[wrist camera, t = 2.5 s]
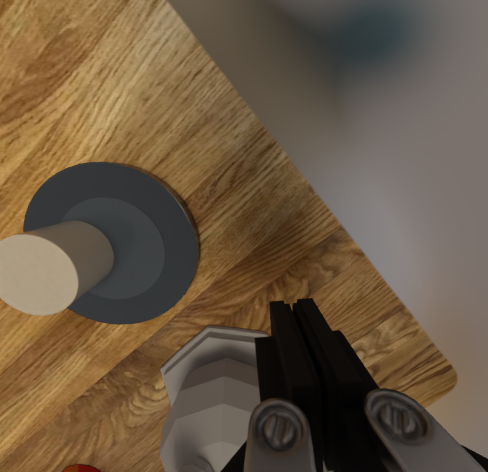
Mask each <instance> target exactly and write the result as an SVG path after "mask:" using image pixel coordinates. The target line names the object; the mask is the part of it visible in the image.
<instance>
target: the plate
mask: <svg viewBox="0 0 488 472" xmlns="http://www.w3.org/2000/svg"><path fill="white" fill-rule="evenodd" d="M70 220H75V221H82V222H85V223H88V224H90V225H92V226H94V227H96V228H97V229H99V230H100V231H101V232H102V233H103V234H104V235H105V236H106V238H107V239H108V240H109V242H110V244H111V246H112V249H113V254H114V262H113V266H112V269H111V271H110V273H109V274H108V275H107V277H106V278H104V279H103V280H102V281H101V282H99V283H98V284H97V285H95V286H94V287H93V288H92V289H90V290H89V291H88V292H86V293H85V294H84V295H83V296H81V297H80V298H79V299H77V300H76V301H75V302H74V303H72V304H71V305H70V306H68V307H67V308H68V309H70V310H71V311H73V312H75V313H77V314H79V315H81V316H83V317H86V318H88V319H91V320H95V321H98V322H103V323H108V324H134V323H140V322H144V321H147V320H150V319H153V318H155V317H158V316H159V315H161V314H163V313H165V312H166V311H168V310H169V309H170V308H172V307H173V306H174V305H175V304H176V303H177V302H178V301H179V300H180V299H181V298H182V297H183V295H184V294H185V293H186V291H187V289H188V288H189V286H190V284H191V282H192V280H193V277H194V275H195V272H196V269H197V266H198V261H199V251H200V247H199V237H198V232H197V228H196V225H195V222H194V219H193V217H192V215H191V213H190V211H189V209H188V208H187V206H186V205H185V203H184V202H183V200H182V199H181V198H180V197H179V196H178V194H177V193H176V192H175V191H174V190H173V189H172V188H171V187H170V186H168V185H167V184H166V183H165V182H163V181H162V180H160V179H159V178H158V177H156V176H154V175H152V174H151V173H149V172H147V171H144V170H142V169H139V168H137V167H133V166H129V165H125V164H119V163H109V162H89V163H83V164H78V165H75V166H71V167H68V168H66V169H64V170H62V171H60V172H58V173H56V174H55V175H53V176H52V177H51V178H49V179H48V180H47V181H46V182H45V183H44V184H43V185H42V186H41V187H40V188H39V189H38V190H37V192H36V193H35V194H34V196H33V198H32V200H31V202H30V204H29V206H28V209H27V212H26V215H25V220H24V226H23V232H27V231H30V230H34V229H38V228H42V227H45V226H49V225H53V224H56V223H60V222H64V221H70Z"/></svg>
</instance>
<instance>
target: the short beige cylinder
mask: <svg viewBox="0 0 488 472" xmlns="http://www.w3.org/2000/svg"><path fill="white" fill-rule="evenodd" d="M113 262H114V254H113V249H112V246H111V244H110V242H109V240H108V239H107V238H106V236H105V235H104V234H103V233H102V232H101V231H100V230H99V229H97V228H96V227H94V226H92V225H90V224H88V223H85V222H82V221H75V220H70V221H64V222H60V223H56V224H53V225H49V226H45V227H42V228H38V229H34V230H30V231H27V232H23V233H19V234H16V235H12V236H9V237H6V238H4V239H2V240H1V241H0V298H1V299H2V300H3V301H4V302H6V303H7V304H8V305H10V306H11V307H13V308H15V309H17V310H19V311H21V312H24V313H27V314H31V315H39V316H44V315H52V314H55V313H58V312H61V311H63V310H64V309H66V308H67V307H68V306H70V305H71V304H72V303H74V302H75V301H76V300H77V299H79V298H80V297H81V296H83V295H84V294H85V293H86V292H88V291H89V290H90V289H92V288H93V287H94V286H95V285H97V284H98V283H99V282H101V281H102V280H103V279H104V278H106V277H107V275H108V274H109V273H110V271H111V269H112V266H113Z"/></svg>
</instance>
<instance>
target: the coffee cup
mask: <svg viewBox="0 0 488 472" xmlns="http://www.w3.org/2000/svg"><path fill="white" fill-rule="evenodd" d="M62 472H99V471H98V470H97V469H95V468H93V467H91V466H87V465H72V466H69V467H67V468H66V469H64V470H63V471H62Z"/></svg>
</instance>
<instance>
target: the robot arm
mask: <svg viewBox="0 0 488 472" xmlns="http://www.w3.org/2000/svg"><path fill="white" fill-rule="evenodd" d="M270 320H271V336H268V337H257V338H254V339H255V351H256V362H257V373H258V384H259V394H260V404H259V405H257V406H256V407H255V409H254V410H253V412H252V414H251V416H250V420H249V425H248V435H247V440H246V441H245V442H244V444H243V445H242V446H241V447H240V449H239V450H238V451H237V452H236V453H235V455H234V456H233V457H232V458H231V459H230V461H229V462H228V463H227V464H226V465H225V467H224V468H223V469H222V470H221V471H220V472H323V461H324V464H325V467H326V469H327V471H333V472H488V459H487V458H485V457H483V456H481V455H479V454H477V453H476V452H474V451H472V450H470V449H468V448H466V447H464V446H462V445H460V444H459V443H458V442H457V441H456V440H455V439H454V438H453V437H452V436H451V435H450V434H449V433H448V432H447V431H446V430H445V429H444V428H443V427H442V426H441V425H440V424H439V423H438V422H437V421H436V420H435V419H434V418H433V416H432V415H430V413H429V412H428V411H427V410H426V409H425V408H424V407H422V406H421V405H420V404H419V403H418V402H417V401H415V400H414V399H412V398H411V397H409V396H407V395H406V394H404V393H401V392H398V391H396V390H392V389H386V388H382V389H379V387H378V386H377V384H376V383H375V381H374V380H373V378H372V377H371V375H370V374H369V372H368V371H367V369H366V368H365V366H364V365H363V363H362V362H361V360H360V359H359V357H358V356H357V354H356V353H355V351H354V350H353V348H352V347H351V345H350V344H349V342H348V341H347V339H346V338H345V336H344V335H343V333H342V332H341V331H339V330H337V331H332V330H331V328H330V327H329V325H328V324H327V322H326V320H325V319H324V317H323V315H322V314H321V312H320V310H319V309H318V307H317V306H316V304H315V302H314V301H313V299H312V298H306V299H298V300H297V303H293V312H292V310H291V307H290V305H289V304H285V303H284V301H272V302H270Z"/></svg>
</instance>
